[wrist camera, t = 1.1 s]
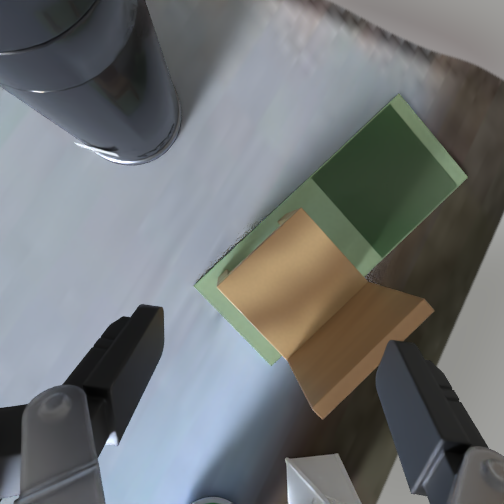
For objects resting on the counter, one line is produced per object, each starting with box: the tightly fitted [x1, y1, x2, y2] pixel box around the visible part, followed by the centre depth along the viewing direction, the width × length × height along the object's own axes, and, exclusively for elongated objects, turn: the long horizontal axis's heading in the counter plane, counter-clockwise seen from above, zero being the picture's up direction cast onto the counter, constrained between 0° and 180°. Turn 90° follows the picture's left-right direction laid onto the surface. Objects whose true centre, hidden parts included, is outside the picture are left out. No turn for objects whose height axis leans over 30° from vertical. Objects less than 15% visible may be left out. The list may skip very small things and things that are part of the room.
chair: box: [217, 208, 434, 419], centre depth 24 cm, size 9×9×13 cm
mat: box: [194, 94, 468, 366], centre depth 31 cm, size 11×28×1 cm, turn 133°
